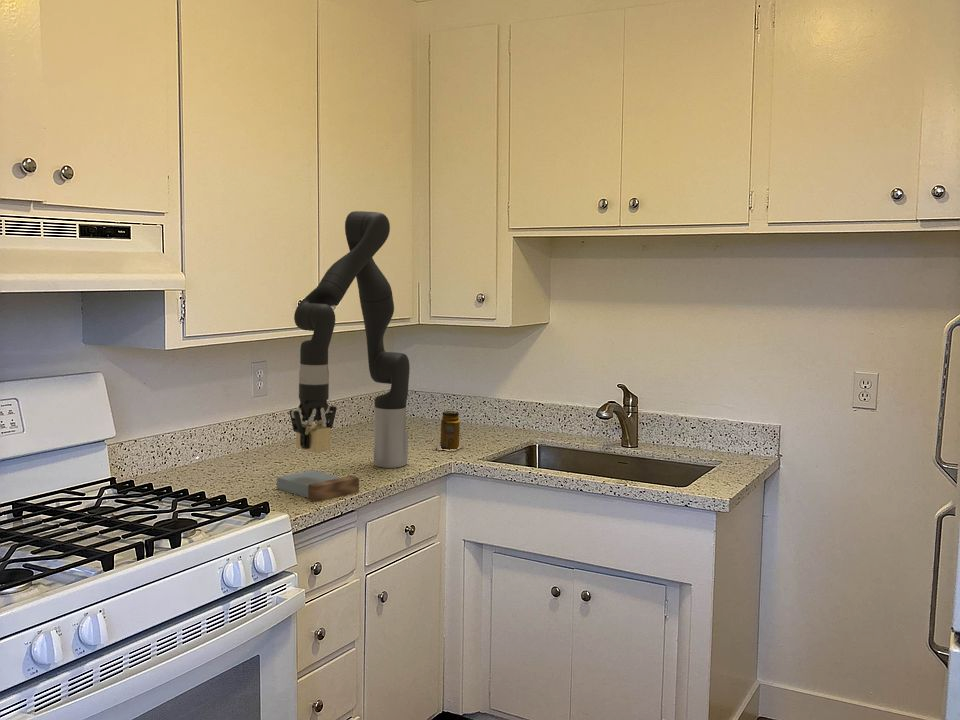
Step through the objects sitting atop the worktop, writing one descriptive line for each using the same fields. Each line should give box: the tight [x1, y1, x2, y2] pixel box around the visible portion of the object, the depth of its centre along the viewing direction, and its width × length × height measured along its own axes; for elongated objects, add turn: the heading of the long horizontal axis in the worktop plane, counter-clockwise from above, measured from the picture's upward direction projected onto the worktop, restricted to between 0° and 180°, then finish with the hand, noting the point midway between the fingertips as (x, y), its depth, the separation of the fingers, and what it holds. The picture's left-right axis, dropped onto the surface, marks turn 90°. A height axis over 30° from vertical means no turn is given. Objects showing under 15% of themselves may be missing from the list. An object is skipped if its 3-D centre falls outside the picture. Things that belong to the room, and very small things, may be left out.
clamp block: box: [295, 423, 331, 454], centre depth 231 cm, size 4×8×6 cm, turn 50°
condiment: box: [432, 410, 461, 451], centre depth 289 cm, size 7×8×12 cm
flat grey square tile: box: [276, 469, 342, 499], centre depth 232 cm, size 12×14×3 cm
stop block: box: [307, 475, 360, 503], centre depth 226 cm, size 14×3×4 cm, turn 139°
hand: (313, 447), depth 231 cm, fingers closed on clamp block, 4 cm apart
